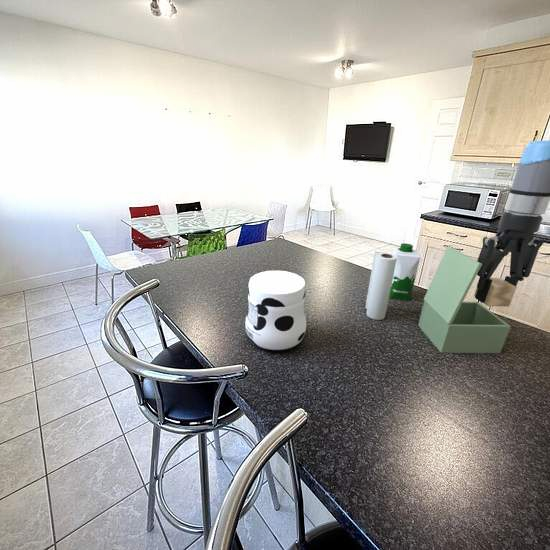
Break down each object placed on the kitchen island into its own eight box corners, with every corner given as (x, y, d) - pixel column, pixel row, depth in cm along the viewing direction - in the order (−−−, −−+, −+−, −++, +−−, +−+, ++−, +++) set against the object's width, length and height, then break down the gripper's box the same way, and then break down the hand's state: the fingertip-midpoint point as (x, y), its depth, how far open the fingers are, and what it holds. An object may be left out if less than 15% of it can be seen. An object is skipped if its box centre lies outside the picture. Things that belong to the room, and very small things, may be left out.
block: (493, 296, 80) (500, 277, 78) (509, 306, 75) (516, 287, 73) (473, 296, 80) (480, 277, 78) (488, 306, 75) (495, 286, 73)
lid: (450, 246, 82) (447, 245, 82) (482, 264, 70) (479, 263, 70) (425, 299, 89) (423, 299, 89) (451, 324, 77) (448, 324, 76)
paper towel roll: (386, 321, 94) (399, 259, 86) (366, 319, 95) (377, 257, 87) (383, 310, 101) (394, 251, 92) (365, 308, 102) (375, 250, 93)
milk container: (311, 327, 90) (315, 274, 83) (295, 363, 75) (299, 301, 68) (259, 316, 95) (259, 265, 88) (235, 347, 80) (232, 289, 73)
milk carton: (407, 293, 113) (418, 244, 105) (411, 304, 105) (424, 252, 97) (383, 290, 115) (393, 242, 107) (386, 301, 107) (396, 249, 99)
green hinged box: (469, 325, 93) (477, 301, 89) (500, 353, 81) (511, 326, 77) (417, 325, 93) (424, 300, 89) (440, 352, 80) (449, 325, 77)
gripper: (547, 210, 72) (514, 294, 81) (473, 209, 71) (448, 293, 81) (576, 217, 65) (537, 307, 74) (495, 215, 64) (465, 307, 74)
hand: (491, 300), depth 77 cm, fingers closed on block, 6 cm apart
